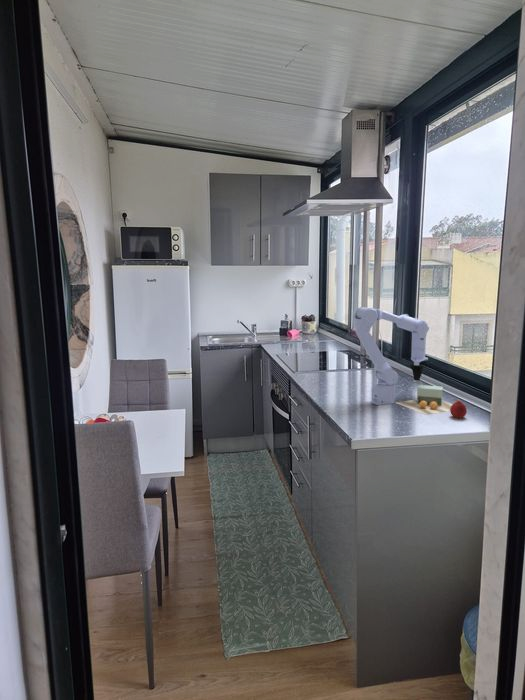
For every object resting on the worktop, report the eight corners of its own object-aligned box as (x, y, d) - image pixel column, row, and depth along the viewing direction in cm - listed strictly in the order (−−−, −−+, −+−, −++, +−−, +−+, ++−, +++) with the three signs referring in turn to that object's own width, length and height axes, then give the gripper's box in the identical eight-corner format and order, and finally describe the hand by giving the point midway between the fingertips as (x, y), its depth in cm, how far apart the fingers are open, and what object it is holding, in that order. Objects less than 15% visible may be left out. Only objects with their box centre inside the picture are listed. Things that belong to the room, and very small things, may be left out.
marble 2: (433, 410, 185) (433, 403, 185) (427, 408, 188) (428, 401, 187) (438, 409, 186) (439, 402, 186) (433, 407, 189) (433, 400, 188)
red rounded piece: (461, 417, 179) (462, 397, 178) (468, 421, 173) (470, 401, 172) (447, 417, 179) (448, 397, 177) (453, 422, 173) (454, 401, 172)
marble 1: (422, 409, 187) (423, 402, 186) (417, 407, 189) (418, 400, 189) (428, 408, 188) (428, 401, 187) (423, 406, 191) (423, 399, 190)
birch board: (426, 417, 179) (426, 414, 179) (394, 404, 197) (394, 402, 197) (464, 410, 187) (464, 408, 187) (431, 399, 204) (431, 397, 204)
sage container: (416, 403, 194) (417, 388, 193) (417, 400, 199) (418, 384, 198) (441, 406, 190) (442, 389, 189) (442, 402, 195) (442, 386, 194)
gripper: (426, 351, 190) (426, 382, 192) (429, 345, 203) (428, 375, 205) (409, 350, 193) (408, 381, 195) (412, 344, 206) (412, 374, 208)
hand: (417, 378), depth 200 cm, fingers open, 7 cm apart
